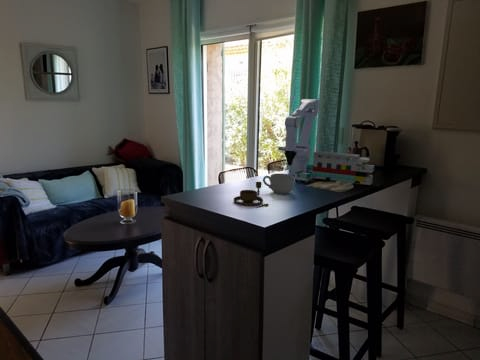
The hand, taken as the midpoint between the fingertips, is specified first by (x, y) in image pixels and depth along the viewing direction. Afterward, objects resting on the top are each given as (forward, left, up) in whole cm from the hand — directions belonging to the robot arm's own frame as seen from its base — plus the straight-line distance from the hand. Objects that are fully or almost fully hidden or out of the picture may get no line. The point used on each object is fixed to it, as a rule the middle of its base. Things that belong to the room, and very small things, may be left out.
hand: (289, 165), depth 188 cm
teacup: (+12, -29, -8) cm, 32 cm away
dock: (+23, 0, -9) cm, 25 cm away
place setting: (+13, -47, -9) cm, 50 cm away
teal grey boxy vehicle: (+9, 0, -8) cm, 12 cm away
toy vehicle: (+23, +15, -8) cm, 29 cm away
